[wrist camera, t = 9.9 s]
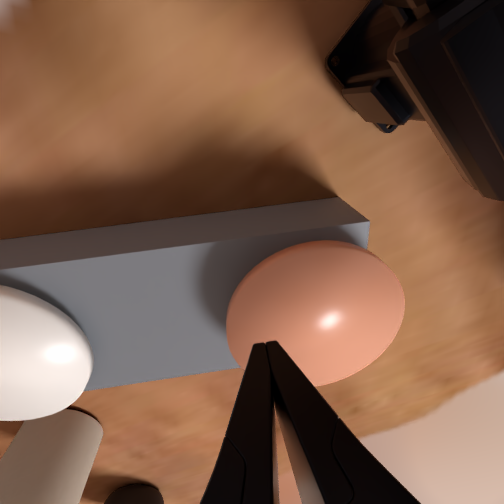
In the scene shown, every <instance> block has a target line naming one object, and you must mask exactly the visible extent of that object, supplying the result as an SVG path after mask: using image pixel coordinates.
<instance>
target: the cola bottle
mask: <svg viewBox="0 0 504 504" xmlns="http://www.w3.org/2000/svg"><path fill="white" fill-rule="evenodd" d="M104 504H164V501H163V497H162V495H161V493H160V492H159V491H158V490H156V489H155V488H153V487H150V486H147V485H129V486H125V487H122V488H120V489H118V490H116V491H115V492H113V493H112V494H111V495H110V496H109V497H108V498H107V500H106V501H105V503H104Z"/></svg>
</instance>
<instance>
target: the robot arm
mask: <svg viewBox="0 0 504 504" xmlns="http://www.w3.org/2000/svg"><path fill="white" fill-rule="evenodd" d="M333 57H335V58H336V59H337V64H336V65H335V66H333V65H332V64H331V60H332V58H333ZM325 67H326V68H327V70H328V71H329V72H330V73H331V75H332V76H333V77H334V78H335V79H336V80H337V81H338V83H339V84H340V85H341V86H342V87H343V89H342V95H343V97H344V98H345V99H346V100H347V101H348V102H349V103H350V105H351V106H352V107H353V108H354V109H355V110H356V111H357V112H358V114H359V115H360V116H361V117H362V118H363V119H364V120H365V121H366V122H373V123H374V124H375V125H376V126H377V127H378V128H379V130H380V131H382V132H383V133H391V132H392V131H394V130H395V129H396V128H397V127H398V125H404V124H405V123H406V122H407V121H408V120H420V121H426V122H427V123H428V125H429V126H430V128H431V129H432V131H433V132H434V134H435V136H436V137H437V139H438V140H439V142H440V143H441V145H442V146H443V148H444V150H445V151H446V153H447V154H448V156H449V157H450V159H451V161H452V162H453V164H454V165H455V167H456V168H457V170H458V171H459V173H460V175H461V176H462V178H463V179H464V180H465V181H466V182H467V183H468V184H470V185H471V186H472V187H473V188H474V189H476V190H478V191H479V192H480V194H481V195H482V196H483V197H487V198H491V199H495V200H499V201H504V0H370V1H369V2H368V4H367V5H366V6H365V7H364V9H363V10H362V11H361V13H360V14H359V15H358V17H357V18H356V19H355V20H354V22H353V23H352V24H351V26H350V27H349V28H348V30H347V31H346V32H345V33H344V35H343V36H342V37H341V39H340V40H339V41H338V42H337V44H336V45H335V46H334V48H333V49H332V50H331V52H330V53H329V54H328V55H327V57H326V59H325ZM386 124H390V126H389V128H386ZM274 405H275V408H274ZM275 410H276V414H277V417H278V421H279V424H280V428H281V431H282V435H283V438H284V442H285V445H286V449H287V452H288V456H289V459H290V463H291V466H292V470H293V473H294V476H295V480H296V484H297V487H298V490H299V494H300V498H301V501H302V504H421V503H420V502H419V501H418V500H417V499H416V498H415V497H414V496H413V495H412V494H411V493H410V492H409V491H408V490H407V489H406V488H405V487H404V486H403V485H402V484H401V483H400V482H399V481H398V480H397V479H396V478H395V477H394V476H393V475H392V474H391V473H390V472H389V471H388V470H387V469H386V468H385V467H384V466H383V465H382V464H381V463H380V462H379V461H378V460H377V459H376V458H375V457H374V456H373V455H372V454H371V453H370V452H369V451H368V450H367V449H366V448H365V447H364V446H363V444H362V443H361V442H360V441H359V440H358V439H357V438H356V436H355V435H354V434H353V433H352V432H351V431H350V429H349V428H348V427H347V426H346V425H345V423H344V422H343V421H342V420H341V418H339V417H338V415H337V414H336V412H335V411H334V410H333V409H332V408H331V406H330V405H329V404H328V403H327V401H326V400H325V399H324V398H323V396H322V395H321V394H320V393H319V392H318V390H317V389H316V388H315V387H314V385H313V384H312V383H311V382H310V381H309V379H308V378H307V377H306V376H305V374H304V373H303V372H302V371H301V369H300V368H299V367H298V366H297V365H296V363H295V362H294V361H293V360H292V358H291V357H290V356H289V355H288V353H287V352H286V351H285V350H284V349H283V347H282V346H281V345H280V344H279V342H278V341H276V340H274V341H267V342H266V343H264V342H261V343H255V344H253V346H252V349H251V352H250V356H249V359H248V362H247V365H246V369H245V372H244V375H243V378H242V382H241V385H240V388H239V391H238V395H237V398H236V401H235V404H234V408H233V411H232V414H231V417H230V421H229V424H228V427H227V430H226V434H225V437H224V440H223V443H222V446H221V449H220V452H219V455H218V458H217V461H216V464H215V467H214V470H213V472H212V475H211V477H210V480H209V482H208V485H207V487H206V490H205V492H204V495H203V497H202V499H201V502H200V504H279V485H278V464H277V444H276V424H275Z"/></svg>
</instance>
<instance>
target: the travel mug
mask: <svg viewBox="0 0 504 504" xmlns="http://www.w3.org/2000/svg"><path fill="white" fill-rule="evenodd" d="M102 437H103V429H102V427H101V425H100V424H99V422H98V421H96V420H95V419H94V418H92V417H91V416H89V415H87V414H84V413H82V412H79V411H76V410H70V409H63V410H61V411H59V412H57V413H54V414H52V415H48V416H45V417H41V418H36V419H30V420H25V421H24V423H23V424H22V426H21V428H20V429H19V431H18V432H17V434H16V436H15V437H14V439H13V441H12V442H11V444H10V445H9V447H8V449H7V450H6V452H5V454H4V455H3V457H2V458H1V460H0V504H79V502H80V499H81V496H82V493H83V490H84V488H85V485H86V482H87V479H88V476H89V473H90V471H91V468H92V465H93V462H94V459H95V456H96V454H97V451H98V448H99V445H100V442H101V439H102Z"/></svg>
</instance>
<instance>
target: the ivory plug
mask: <svg viewBox="0 0 504 504" xmlns="http://www.w3.org/2000/svg"><path fill="white" fill-rule="evenodd" d="M93 365H94V356H93V351H92V348H91V345H90V343H89V340H88V339H87V337H86V336H85V334H84V332H83V331H82V330H81V329H80V328H79V326H78V325H77V324H76V323H75V322H74V321H73V320H72V319H71V318H70V317H69V316H67V315H66V314H65V313H63V312H62V311H61V310H59V309H58V308H56V307H55V306H53V305H51V304H50V303H48V302H46V301H44V300H42V299H40V298H38V297H36V296H34V295H31V294H29V293H26V292H24V291H21V290H18V289H14V288H11V287H8V286H3V285H0V421H22V420H30V419H36V418H41V417H45V416H48V415H52V414H54V413H57V412H59V411H61V410H63V409H65V408H67V407H68V406H70V405H71V404H72V403H74V402H75V401H76V400H77V399H78V398H79V397H80V395H81V394H82V392H83V391H84V389H85V387H86V384H87V382H88V380H89V378H90V376H91V373H92V371H93Z"/></svg>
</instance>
